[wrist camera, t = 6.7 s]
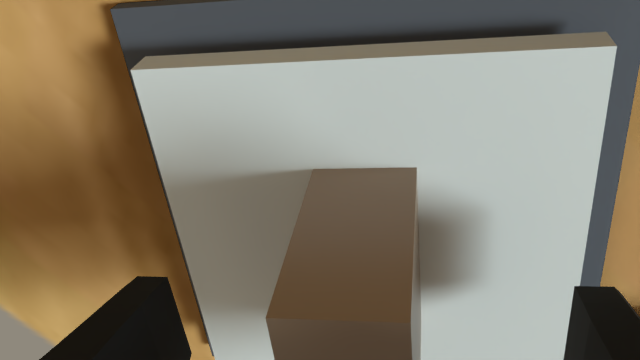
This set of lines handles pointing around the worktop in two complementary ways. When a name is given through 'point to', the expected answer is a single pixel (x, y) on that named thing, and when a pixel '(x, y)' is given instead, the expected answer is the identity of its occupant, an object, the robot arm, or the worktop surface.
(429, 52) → the lid
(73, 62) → the worktop surface
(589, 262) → the mat
